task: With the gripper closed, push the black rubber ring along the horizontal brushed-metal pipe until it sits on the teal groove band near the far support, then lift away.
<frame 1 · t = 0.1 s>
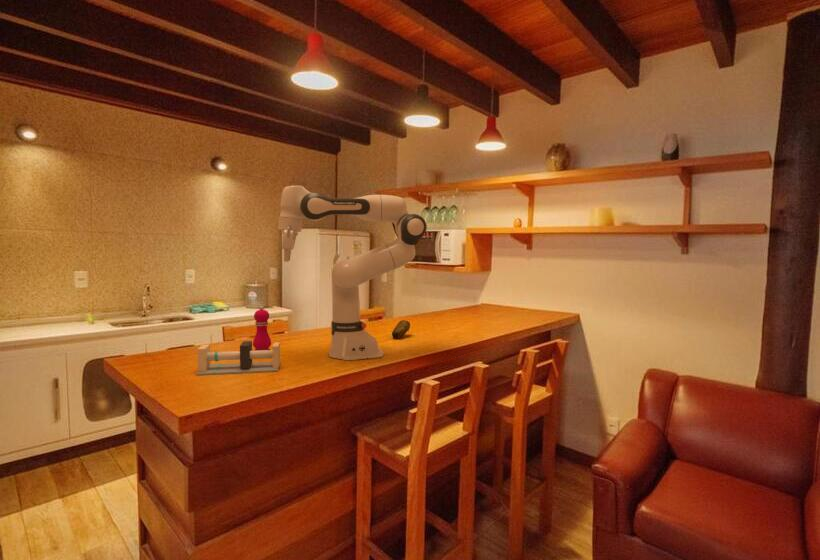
hand: (286, 261, 173), 39 cm above the table, tool pointing down, fingers open, 8 cm apart
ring: (246, 354, 159), point 5 cm above the table, slide at 0.0 cm
pepper mill: (262, 354, 182), on the table
potato: (400, 337, 218), on the table
pipe rig: (240, 368, 159), on the table
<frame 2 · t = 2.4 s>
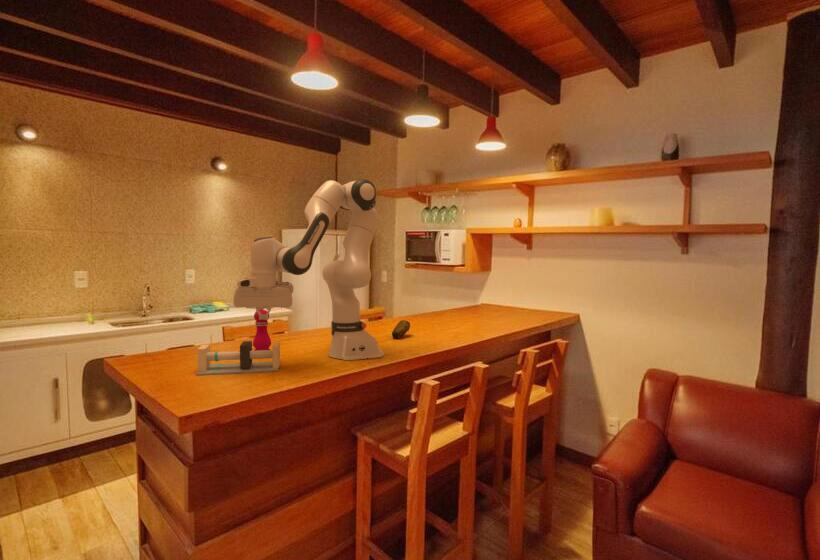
hand: (263, 319, 159), 18 cm above the table, tool pointing down, fingers closed
nothing on the table moved.
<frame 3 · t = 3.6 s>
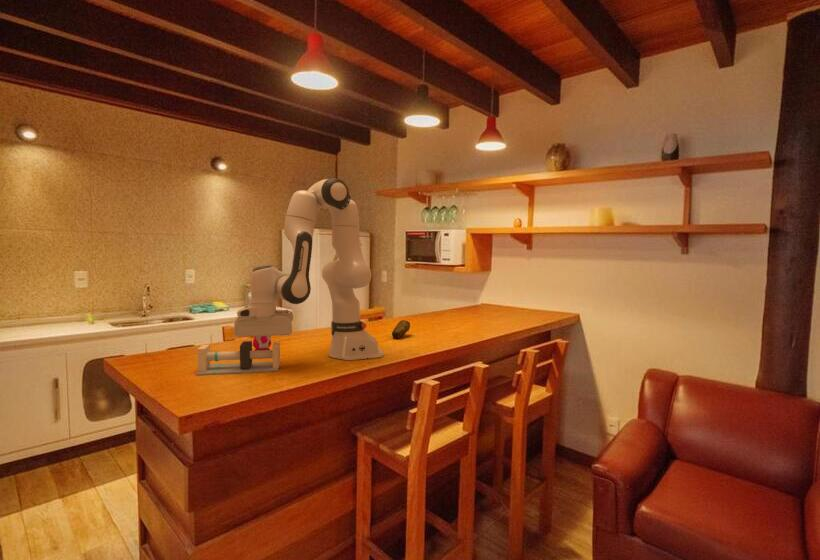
hand: (263, 347, 160), 7 cm above the table, tool pointing down, fingers closed
nothing on the table moved.
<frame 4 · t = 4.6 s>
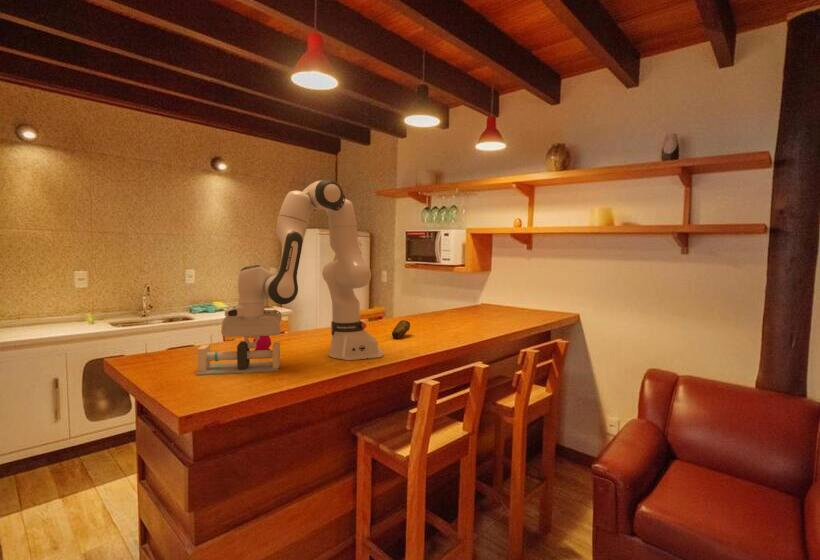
hand: (251, 348, 159), 8 cm above the table, tool pointing down, fingers closed
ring: (243, 354, 159), point 5 cm above the table, slide at 0.9 cm, touching gripper
everything else where it was.
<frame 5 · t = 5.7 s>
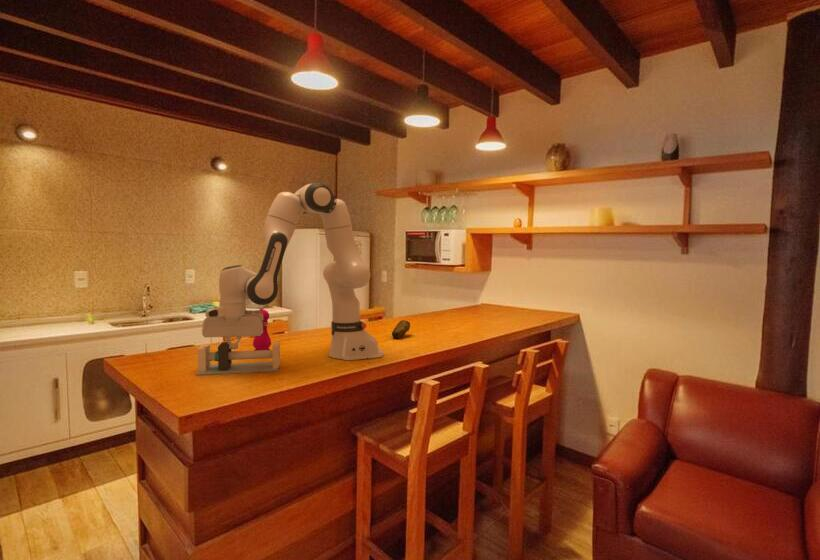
hand: (233, 348, 158), 8 cm above the table, tool pointing down, fingers closed
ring: (224, 355, 158), point 5 cm above the table, slide at 7.3 cm, touching gripper
everything else where it was.
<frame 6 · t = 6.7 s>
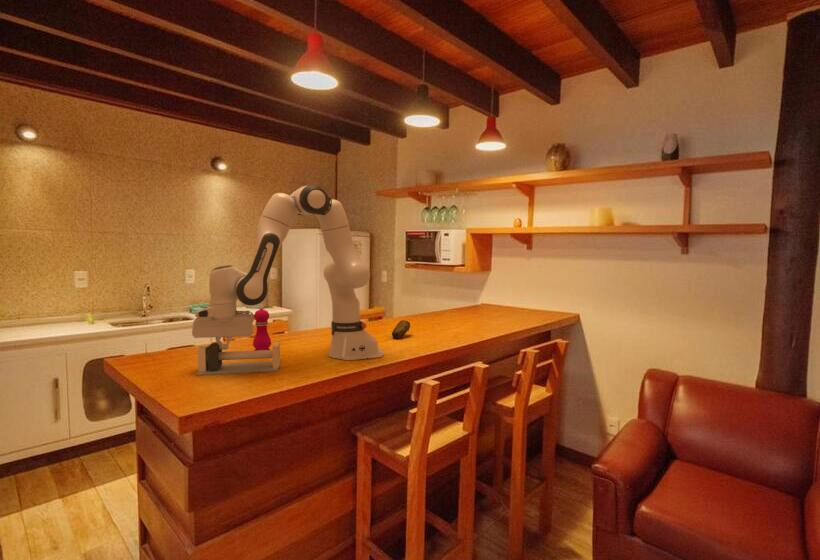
hand: (223, 349, 157), 8 cm above the table, tool pointing down, fingers closed
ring: (215, 355, 157), point 5 cm above the table, slide at 10.5 cm, touching gripper
everything else where it was.
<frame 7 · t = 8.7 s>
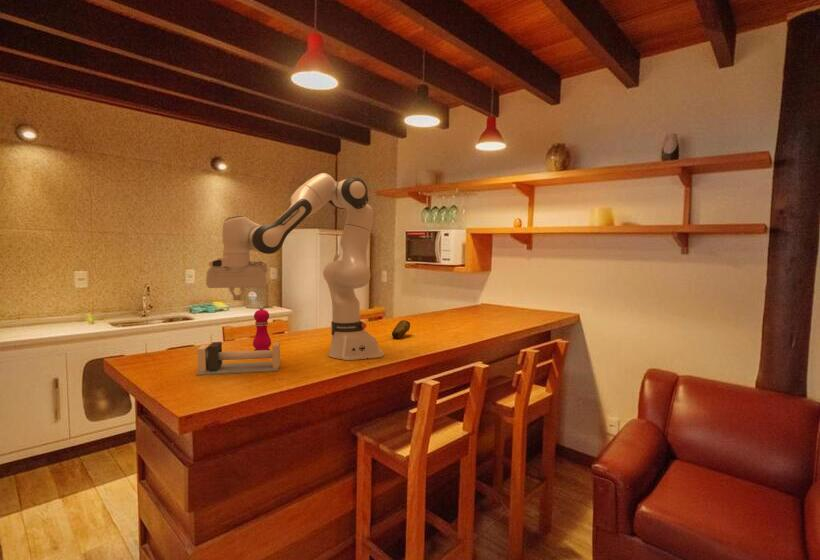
hand: (237, 300, 158), 25 cm above the table, tool pointing down, fingers closed
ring: (215, 355, 157), point 5 cm above the table, slide at 10.6 cm
everything else where it was.
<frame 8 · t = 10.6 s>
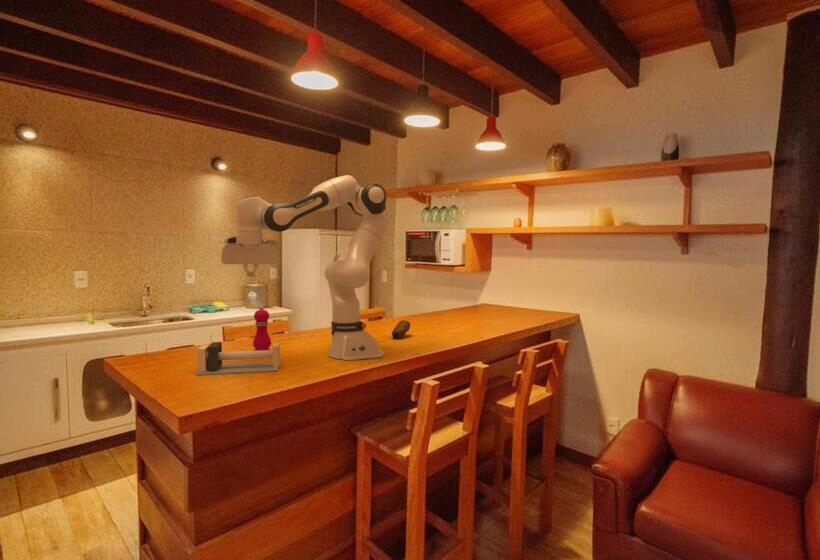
hand: (250, 276, 165), 33 cm above the table, tool pointing down, fingers closed
nothing on the table moved.
at the end: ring slide at 10.6 cm; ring 0.6 cm from the target spot, resting on pipe rig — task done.
